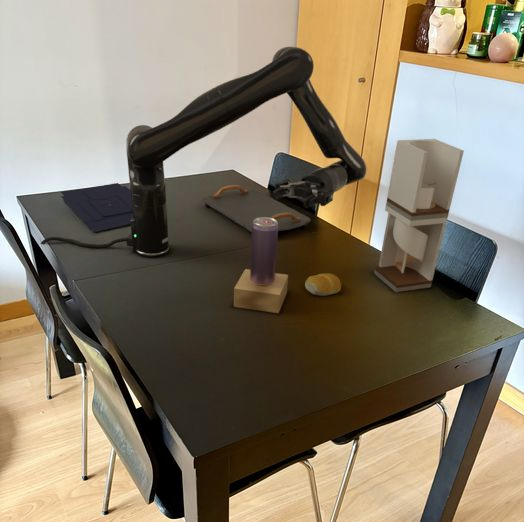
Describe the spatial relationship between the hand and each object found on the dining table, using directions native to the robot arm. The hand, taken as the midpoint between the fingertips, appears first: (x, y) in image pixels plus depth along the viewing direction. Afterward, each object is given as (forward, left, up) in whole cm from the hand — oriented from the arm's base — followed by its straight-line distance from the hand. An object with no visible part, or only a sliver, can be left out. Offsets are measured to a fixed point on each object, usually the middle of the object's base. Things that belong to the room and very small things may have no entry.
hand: (289, 199), depth 131 cm
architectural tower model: (+31, +11, -22) cm, 39 cm away
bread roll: (+11, -1, -22) cm, 24 cm away
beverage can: (-3, -11, -17) cm, 21 cm away
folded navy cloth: (-64, +33, -22) cm, 76 cm away
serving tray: (-18, +44, -22) cm, 52 cm away
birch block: (-3, -11, -22) cm, 25 cm away
